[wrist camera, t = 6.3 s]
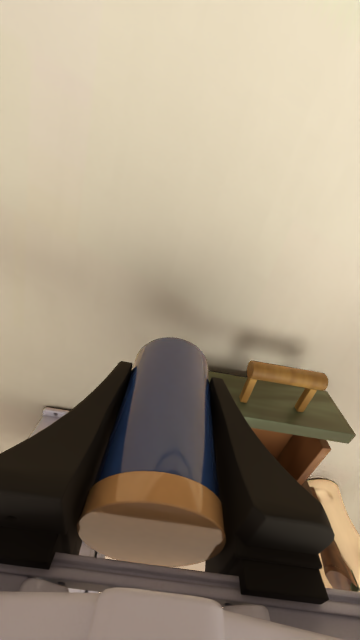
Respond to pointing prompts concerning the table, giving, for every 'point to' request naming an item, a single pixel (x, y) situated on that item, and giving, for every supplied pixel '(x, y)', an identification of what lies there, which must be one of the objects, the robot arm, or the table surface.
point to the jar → (159, 466)
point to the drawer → (289, 414)
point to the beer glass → (338, 540)
